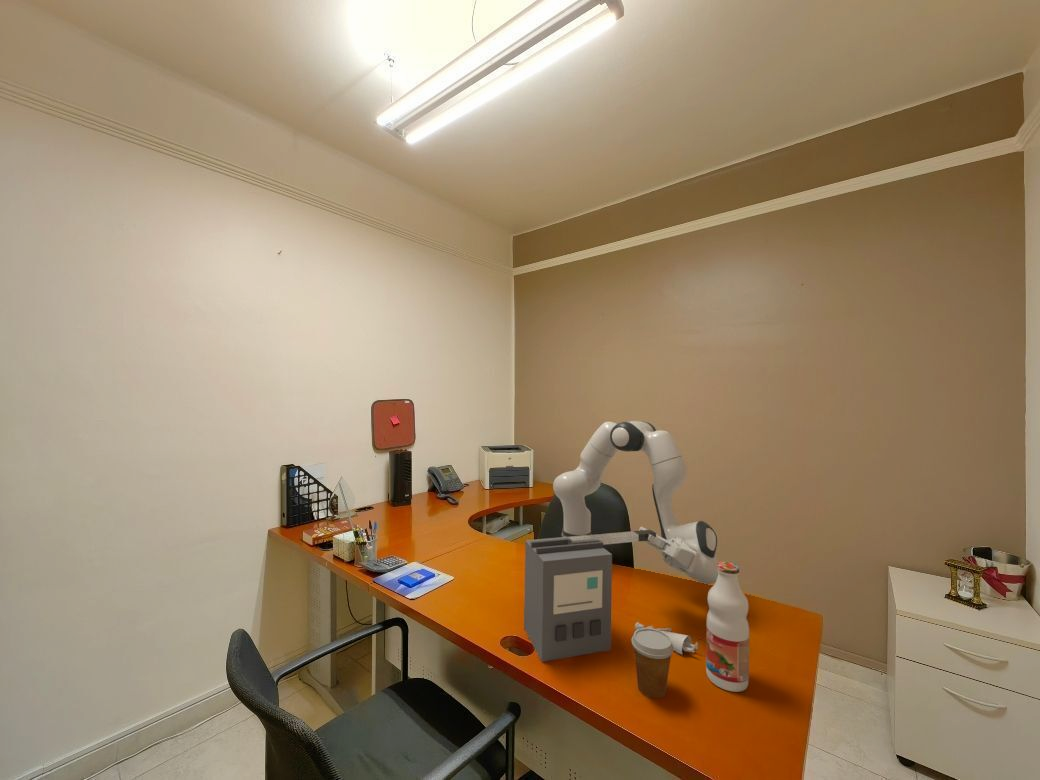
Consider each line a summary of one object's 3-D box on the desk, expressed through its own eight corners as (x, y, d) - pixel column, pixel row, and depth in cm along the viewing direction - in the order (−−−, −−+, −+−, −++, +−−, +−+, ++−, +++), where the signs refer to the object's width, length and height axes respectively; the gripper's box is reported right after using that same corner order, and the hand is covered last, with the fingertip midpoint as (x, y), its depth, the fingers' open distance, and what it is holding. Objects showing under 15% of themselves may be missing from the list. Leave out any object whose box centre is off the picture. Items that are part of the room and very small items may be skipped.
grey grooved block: (523, 628, 122) (525, 535, 122) (585, 619, 127) (586, 530, 128) (543, 664, 106) (544, 557, 106) (612, 652, 111) (613, 550, 112)
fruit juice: (757, 693, 96) (758, 573, 97) (717, 693, 96) (718, 573, 97) (735, 667, 106) (736, 558, 106) (699, 666, 106) (700, 557, 106)
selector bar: (567, 544, 119) (567, 536, 119) (651, 536, 127) (651, 529, 127) (572, 547, 116) (572, 540, 116) (657, 539, 124) (657, 532, 124)
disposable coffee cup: (671, 679, 101) (671, 630, 101) (674, 708, 91) (675, 653, 92) (631, 672, 103) (631, 624, 103) (630, 698, 94) (631, 646, 94)
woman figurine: (686, 649, 106) (624, 625, 118) (687, 667, 106) (625, 641, 118) (704, 631, 114) (644, 611, 127) (704, 648, 114) (645, 626, 126)
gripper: (661, 533, 138) (630, 515, 135) (704, 556, 118) (669, 535, 115) (652, 550, 137) (621, 532, 134) (695, 576, 117) (659, 556, 114)
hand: (643, 534), depth 124 cm, fingers closed on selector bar, 3 cm apart
